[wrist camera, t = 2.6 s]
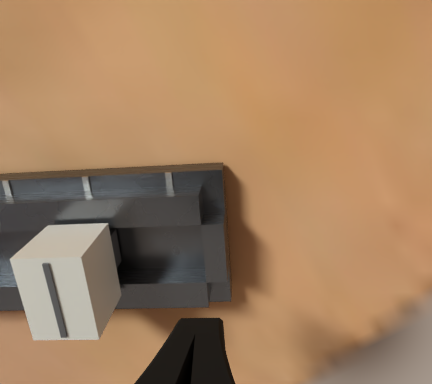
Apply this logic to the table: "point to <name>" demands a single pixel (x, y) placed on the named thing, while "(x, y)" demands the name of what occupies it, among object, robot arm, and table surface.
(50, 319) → the fader knob
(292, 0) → the table surface
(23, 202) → the console
